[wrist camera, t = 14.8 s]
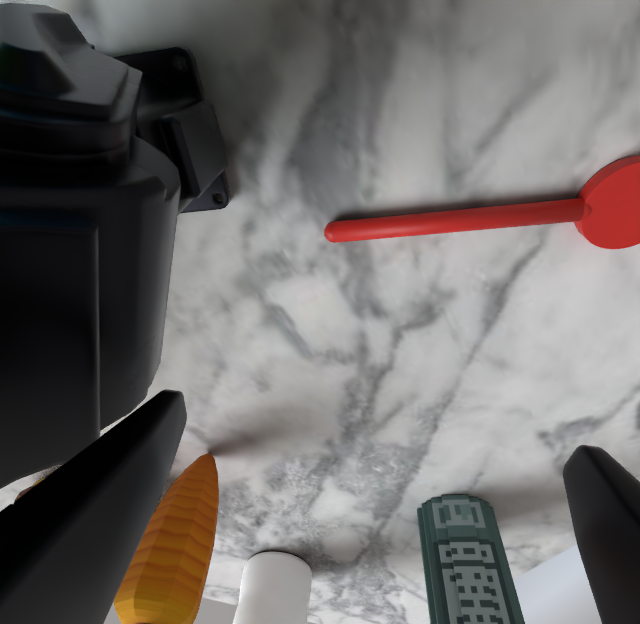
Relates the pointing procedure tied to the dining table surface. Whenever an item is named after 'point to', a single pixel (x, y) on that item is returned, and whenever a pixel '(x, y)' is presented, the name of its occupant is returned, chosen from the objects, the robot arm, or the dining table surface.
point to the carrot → (174, 552)
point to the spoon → (527, 214)
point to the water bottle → (274, 590)
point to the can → (465, 563)
